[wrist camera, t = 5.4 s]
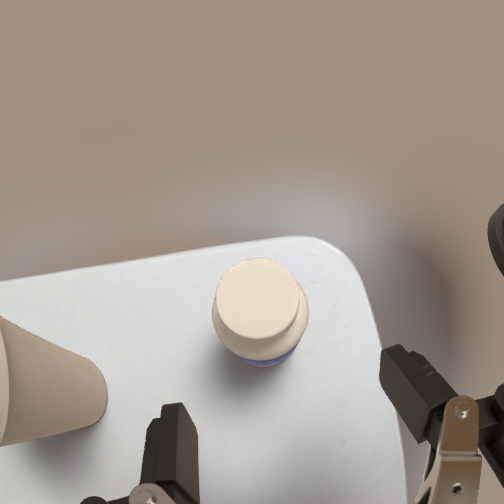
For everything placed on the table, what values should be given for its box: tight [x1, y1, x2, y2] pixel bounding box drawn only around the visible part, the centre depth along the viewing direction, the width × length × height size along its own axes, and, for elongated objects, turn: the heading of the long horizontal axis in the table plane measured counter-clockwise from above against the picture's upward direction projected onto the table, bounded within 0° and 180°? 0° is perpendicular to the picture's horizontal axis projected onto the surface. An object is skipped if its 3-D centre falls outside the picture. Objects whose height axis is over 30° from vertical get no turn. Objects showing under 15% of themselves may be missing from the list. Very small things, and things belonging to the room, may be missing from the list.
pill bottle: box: [212, 258, 309, 367], centre depth 18 cm, size 5×5×10 cm
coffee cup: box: [0, 316, 107, 447], centre depth 14 cm, size 10×10×15 cm
